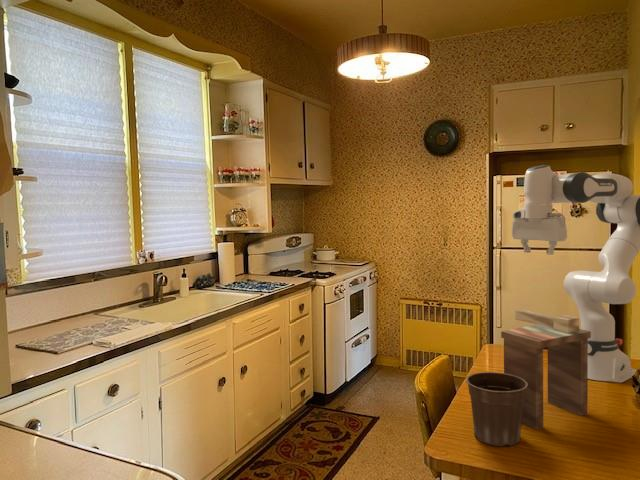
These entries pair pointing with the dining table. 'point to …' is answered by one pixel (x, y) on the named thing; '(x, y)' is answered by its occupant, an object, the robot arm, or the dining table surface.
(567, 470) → the dining table surface
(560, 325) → the marker stick
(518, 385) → the plant pot
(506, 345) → the shelf
